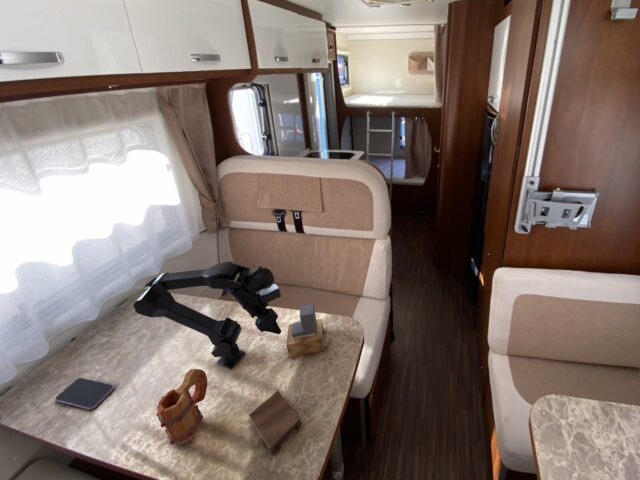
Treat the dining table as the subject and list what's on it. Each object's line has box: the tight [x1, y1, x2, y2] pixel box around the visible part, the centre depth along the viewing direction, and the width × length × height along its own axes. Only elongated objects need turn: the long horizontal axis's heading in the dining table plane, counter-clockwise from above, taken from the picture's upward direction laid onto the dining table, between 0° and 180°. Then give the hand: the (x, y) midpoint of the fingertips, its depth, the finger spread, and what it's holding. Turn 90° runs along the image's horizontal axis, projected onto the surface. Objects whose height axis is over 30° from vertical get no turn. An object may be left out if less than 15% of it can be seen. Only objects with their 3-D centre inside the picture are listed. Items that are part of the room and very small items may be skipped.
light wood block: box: [285, 318, 325, 359], centre depth 107 cm, size 12×9×6 cm
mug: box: [155, 368, 209, 446], centre depth 83 cm, size 15×8×15 cm, turn 168°
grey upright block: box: [292, 303, 317, 339], centre depth 104 cm, size 8×5×10 cm, turn 101°
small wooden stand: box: [248, 390, 302, 455], centre depth 84 cm, size 12×9×3 cm
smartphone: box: [54, 377, 115, 411], centre depth 95 cm, size 7×1×15 cm
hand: (276, 326), depth 101 cm, fingers open, 9 cm apart
